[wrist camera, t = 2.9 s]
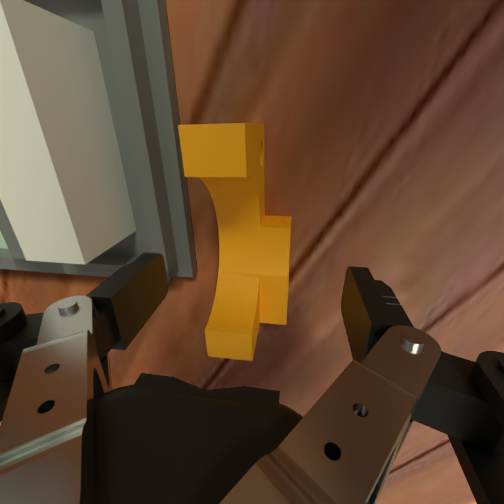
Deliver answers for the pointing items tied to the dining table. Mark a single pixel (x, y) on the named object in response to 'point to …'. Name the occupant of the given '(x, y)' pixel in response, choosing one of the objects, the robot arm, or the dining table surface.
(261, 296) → the orange stepped block
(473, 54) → the dining table surface
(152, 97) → the dock
